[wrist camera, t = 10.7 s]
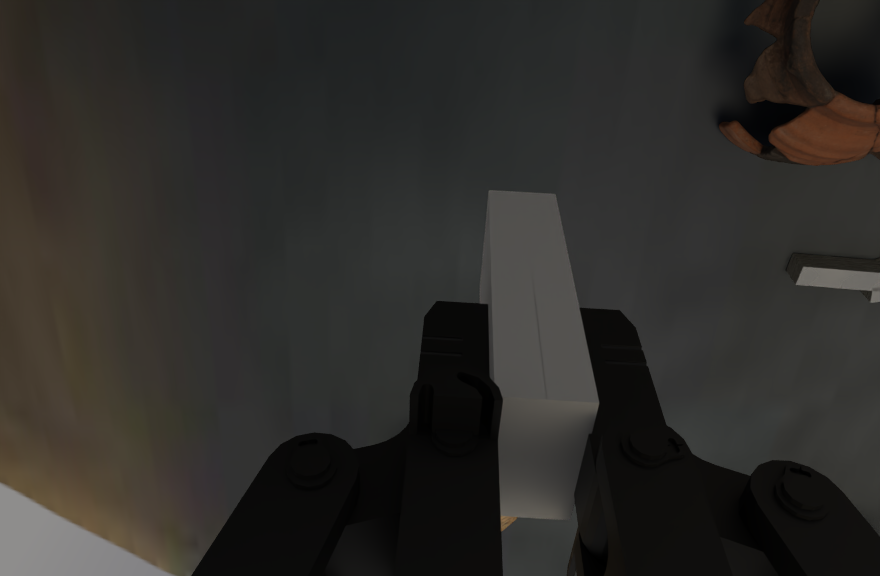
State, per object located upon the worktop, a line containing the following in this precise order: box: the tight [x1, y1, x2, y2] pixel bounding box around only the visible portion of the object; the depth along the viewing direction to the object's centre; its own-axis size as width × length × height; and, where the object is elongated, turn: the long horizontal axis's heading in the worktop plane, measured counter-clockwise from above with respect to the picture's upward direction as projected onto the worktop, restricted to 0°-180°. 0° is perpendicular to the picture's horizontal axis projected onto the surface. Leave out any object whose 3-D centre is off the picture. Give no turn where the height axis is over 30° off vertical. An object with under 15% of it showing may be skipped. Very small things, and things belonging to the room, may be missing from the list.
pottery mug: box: [719, 0, 880, 166], centre depth 30 cm, size 12×9×8 cm
